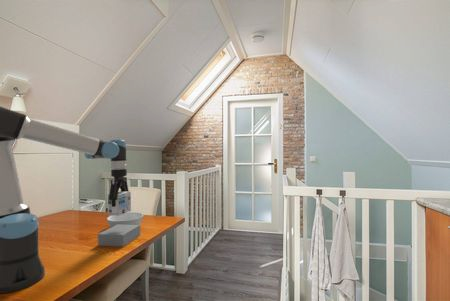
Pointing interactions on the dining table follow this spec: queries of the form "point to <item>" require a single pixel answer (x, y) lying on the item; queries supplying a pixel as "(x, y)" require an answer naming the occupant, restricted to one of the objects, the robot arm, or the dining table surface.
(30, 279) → the robot arm
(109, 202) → the light bulb box
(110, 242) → the grey block
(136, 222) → the serving bowl
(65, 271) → the dining table surface
